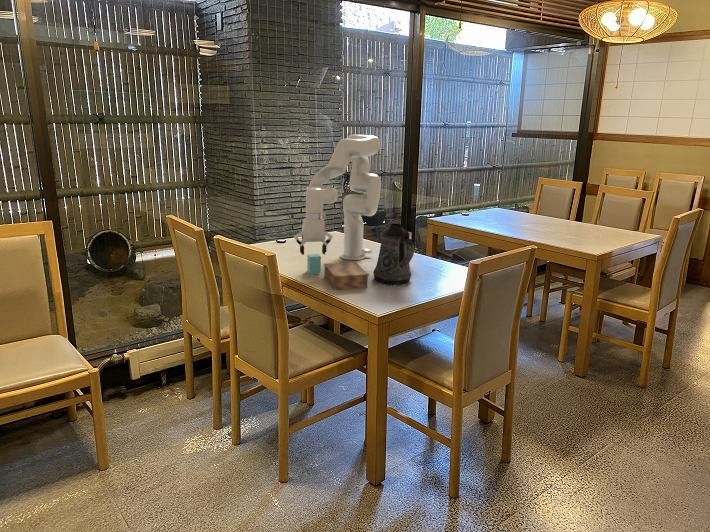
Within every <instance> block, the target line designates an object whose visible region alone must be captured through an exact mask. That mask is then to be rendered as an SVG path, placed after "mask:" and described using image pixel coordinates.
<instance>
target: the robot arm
mask: <svg viewBox="0 0 710 532" xmlns="http://www.w3.org/2000/svg"><path fill="white" fill-rule="evenodd" d="M380 148H381V141H380V139H379V137H378V136H375V135H369V134H350V135H348V136H347V137H346V138H341V139H340V140H339V141H338V142H337V144H336V146H335V148H334V151H333V152H332V156H331V157H330V159H329V161H328V163H327V164H326V165H325V166H324V167H322V168H321V169H320V170H319V171H317V172H316V173H315V174H314V175H313V177H311V180H310V182H309V185H308V187H307V189H306V192H305V218H303V220H302V224H301V225H302V226H301V232H299V233H297V234H294V236H293V238H294V240H295V241H296V243H297V244H299V253H300V254H301V255H302V256H304V255H305V244H306V243H322V245H321V246H322V248H321V253H322V254H323V255H326V253H327V246H329V245H328V244H329V243H331V240H332V239H333V237H334V235H332V234H331V233H328V232H327V231H326V224H325V219H324V217H326V216H327V214H326V213H324V204H325V205H330V204H334V203H335V202H336V201H337V200H338V198H339V191H338V190H337V189H336V188H335V187H332V186H326V185H323V184H324V183H326V182H327V181H329V180H331V179H334V178H337V177H339V176H342V175H344V174H345V173H346V171H347V170H348V167H349V164H350V161H351V162H352V164H351V171H350V177H349V182H348V185H349V189H350V190H351V191H353V192H355V193H356V192H357V193H364V194H366V195H362V194H355V193H352V194H351V193H349V194H347V195H346V196H344V198H343V200H342V209H343V221H344V222H343V223H344V224H343V228H344V229H343V252H341V253H340V254H339V255H340V258H341V259H344V260H348V261H359V260H365V258H366V254H372V253H373V250H372V249H368V248H364V247H363V245H364V220H363V217H362V216H364V217H365V216H367V217H372V216H375V214H376V213H377V211H378V208H379V201H380V196H381V190H382V180H381V177H380V176H379V175H378V174H376V173H370V164H371V163H370V159H369V157H372V156H373V155H376V154H377V153H378V152H379V151H380ZM300 237H301V240H300V239H299V238H300ZM326 237H328V238H327V239H326Z"/></svg>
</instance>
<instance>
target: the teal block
mask: <svg viewBox="0 0 710 532" xmlns="http://www.w3.org/2000/svg"><path fill="white" fill-rule="evenodd" d="M321 258H322V256H321V254H319V253H309V254H307V265H306V267H307V269H306V271H307V273H308V272H309V273H308V275H318V274H317V273H321V272H322V271H321V270H322V269H321V268H322V267H321V266H322V264H321V263H322V260H321Z"/></svg>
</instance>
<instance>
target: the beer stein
mask: <svg viewBox="0 0 710 532" xmlns="http://www.w3.org/2000/svg"><path fill="white" fill-rule="evenodd" d="M409 232H410V231H408V230H405V229H404V228H403V226H402V223H401V224H400V223H391V224H389V226H388V227H387V228H385V229H384V230H382V231H381V233H380V234H379V235H380V236H379V237H380V239H381V243H380V247H379V253H378V256H377V257H378V258H377V262H376V266H375V268H374V269H373V271H372V272H373V273H372V274H373V277H374V278H373V280H374V281H375V282H376V283H378V284H380V283H381V285H384V284H385V285H386V286H393V285H397V286H404V285H407V284H408V282H409V283H410V281H411V277H412V272H411V269H410V263H409V262H411V260H412V259H413V257H414V253H415V245H414V242H413V241H412V240H413V239H412V238H411V239H410V238H409V237H410V235H409ZM403 284H404V285H403Z"/></svg>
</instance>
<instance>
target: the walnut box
mask: <svg viewBox="0 0 710 532" xmlns="http://www.w3.org/2000/svg"><path fill="white" fill-rule="evenodd" d="M323 266H324V278H325V279H326V280H328V281H327V283H329V284H330V285H332V286H333V287H332V286H331V287H332V288H333V289H334V290H335V289H341V290H353V288H356V289H368V284H369V282H368V280H369V276H370V274H369V273H368V272H367V271H366V270H365V269H364V268H363V267H362V266H361V265H360V264H359V263H358V262H356V261H353V262H352V261H351V262H335V263H334V262H333V263H331V262H330V263H324V264H323Z"/></svg>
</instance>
